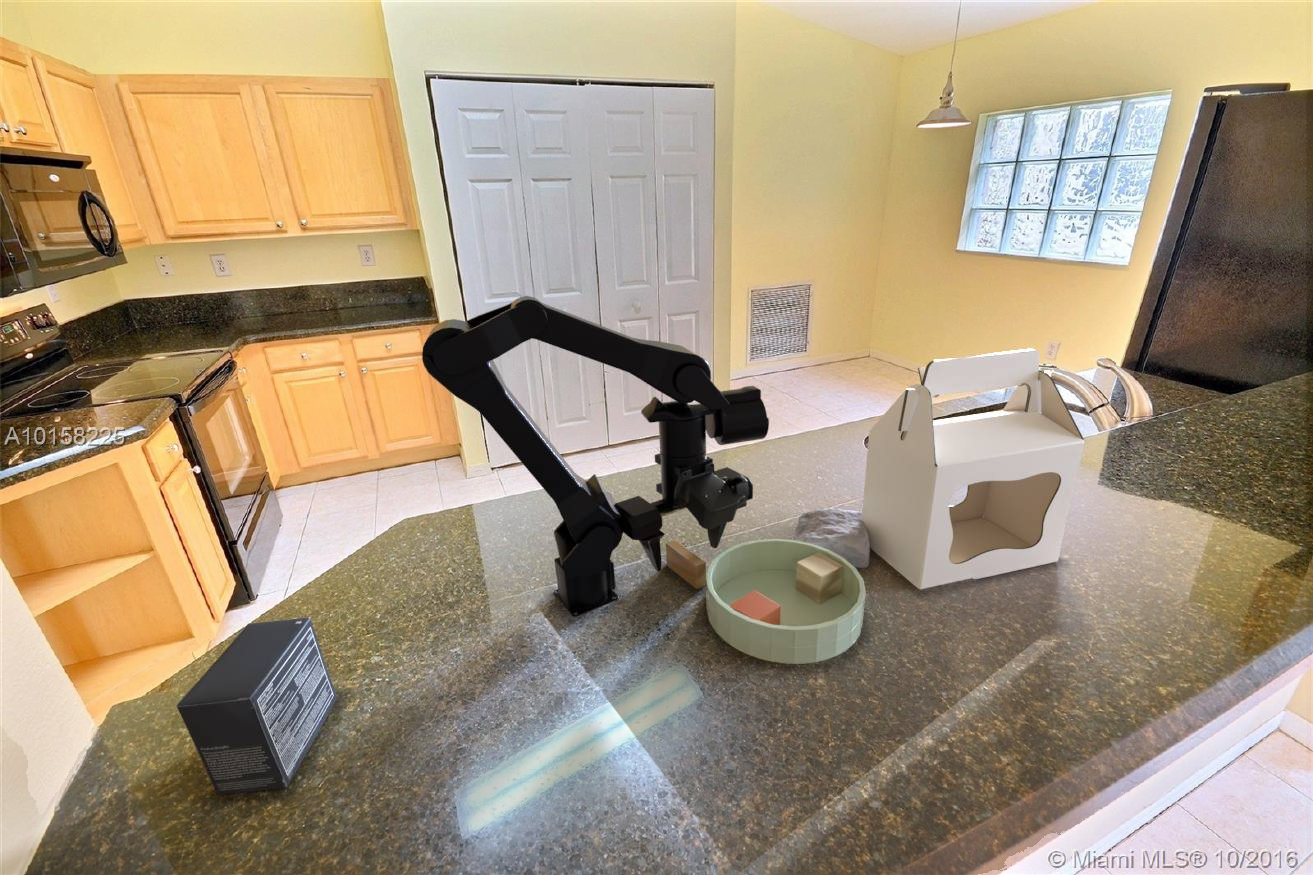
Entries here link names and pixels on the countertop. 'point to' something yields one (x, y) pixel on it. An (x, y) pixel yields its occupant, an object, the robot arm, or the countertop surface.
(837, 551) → the stone block
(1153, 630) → the countertop surface
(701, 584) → the oak wood brick
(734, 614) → the bowl
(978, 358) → the gable box
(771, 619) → the terracotta block
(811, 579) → the cream block
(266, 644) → the small box
